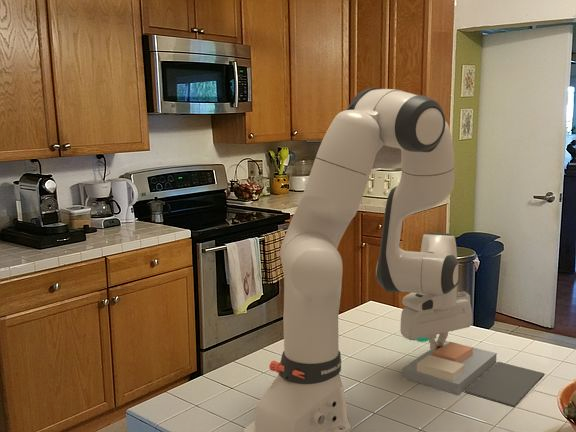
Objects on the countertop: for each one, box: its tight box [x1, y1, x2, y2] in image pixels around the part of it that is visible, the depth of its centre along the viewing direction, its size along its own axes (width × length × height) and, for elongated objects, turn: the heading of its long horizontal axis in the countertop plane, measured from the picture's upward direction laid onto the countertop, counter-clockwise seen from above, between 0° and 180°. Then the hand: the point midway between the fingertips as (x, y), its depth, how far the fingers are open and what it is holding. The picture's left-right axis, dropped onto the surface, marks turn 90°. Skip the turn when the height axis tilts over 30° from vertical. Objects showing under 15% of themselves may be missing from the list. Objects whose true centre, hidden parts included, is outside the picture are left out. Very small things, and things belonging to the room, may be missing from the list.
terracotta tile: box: [432, 341, 474, 363], centre depth 140 cm, size 9×6×2 cm, turn 136°
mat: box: [463, 361, 545, 408], centre depth 131 cm, size 20×11×1 cm, turn 139°
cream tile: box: [417, 355, 465, 381], centre depth 132 cm, size 9×6×2 cm, turn 49°
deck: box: [401, 340, 498, 396], centre depth 139 cm, size 22×14×2 cm, turn 139°
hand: (436, 349), depth 143 cm, fingers closed
